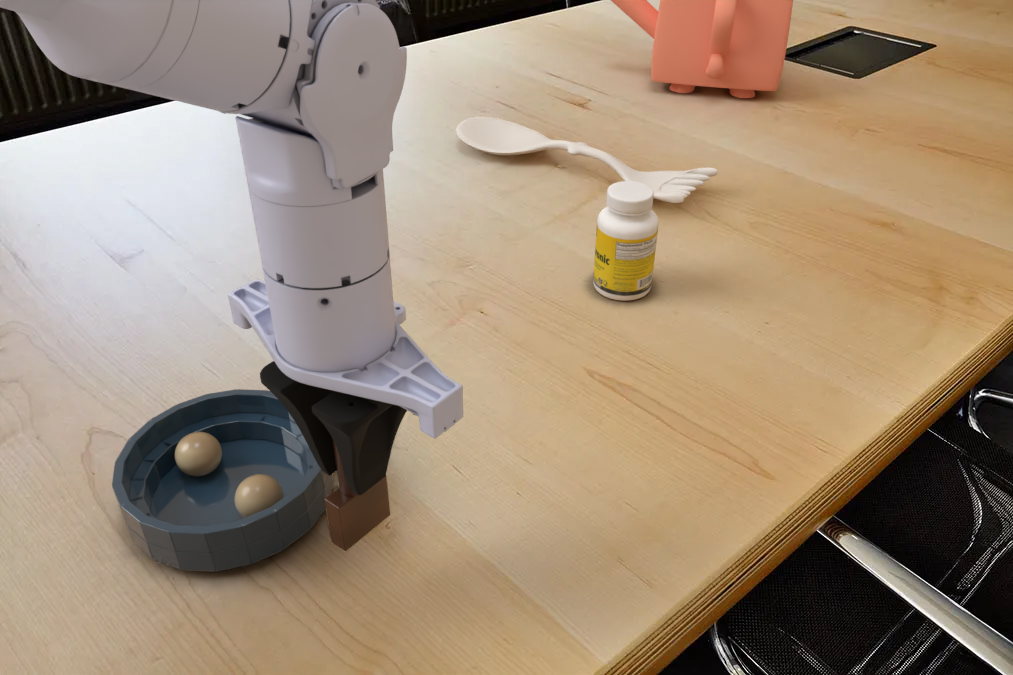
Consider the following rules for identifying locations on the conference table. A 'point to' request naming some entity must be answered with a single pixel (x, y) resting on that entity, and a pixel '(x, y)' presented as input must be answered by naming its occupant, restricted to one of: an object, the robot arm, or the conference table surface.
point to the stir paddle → (354, 509)
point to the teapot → (715, 42)
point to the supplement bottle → (626, 242)
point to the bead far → (198, 454)
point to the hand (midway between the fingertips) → (354, 473)
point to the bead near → (257, 494)
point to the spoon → (522, 140)
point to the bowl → (218, 483)
